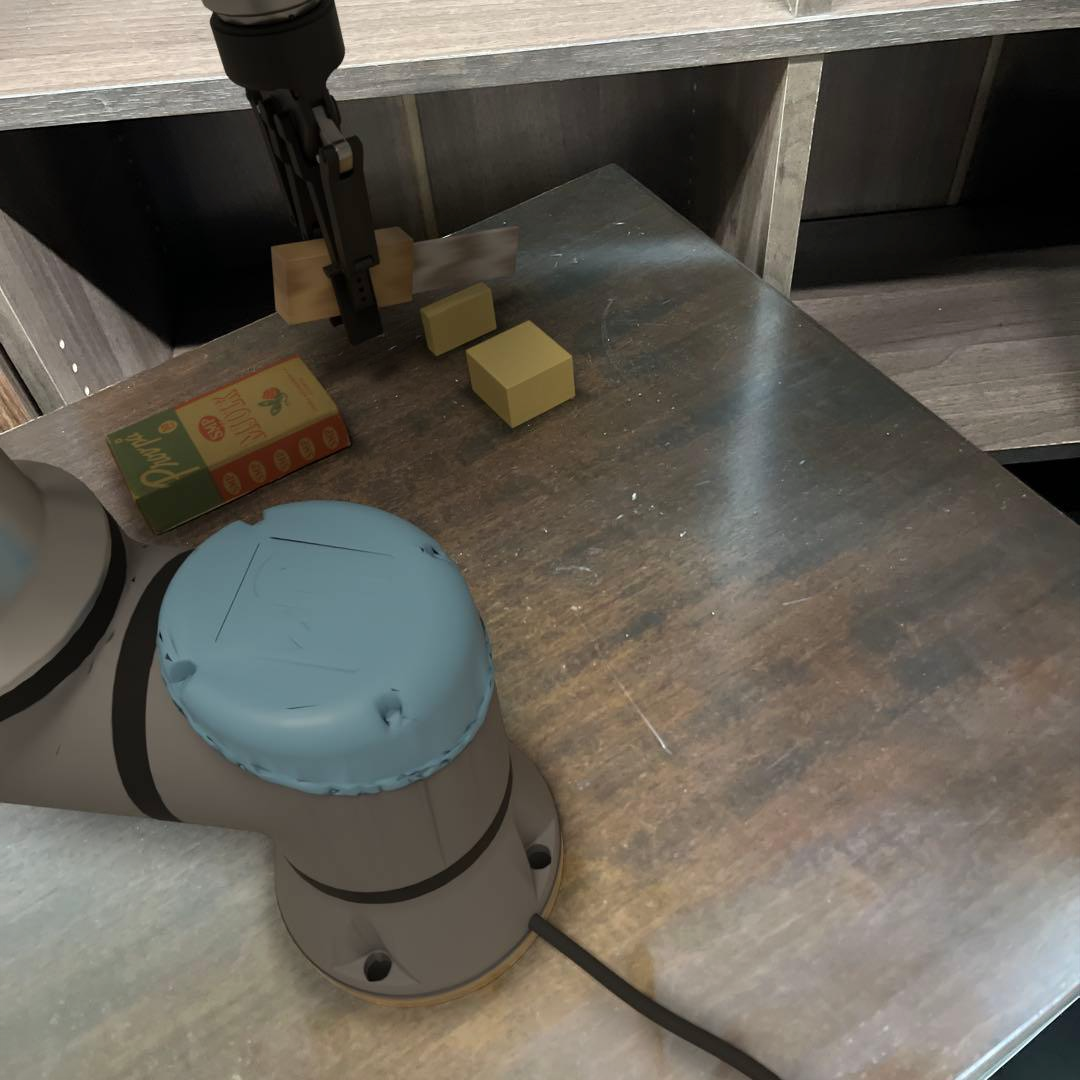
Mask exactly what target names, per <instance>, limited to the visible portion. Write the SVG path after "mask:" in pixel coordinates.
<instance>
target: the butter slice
mask: <svg viewBox="0 0 1080 1080" xmlns="http://www.w3.org/2000/svg"><path fill="white" fill-rule="evenodd" d="M492 293H493V292H492V288H490V287H489V286H488V285H487V284H486V283H484V282H483V281H479V282H478V283H475V284H473V285H471V286H469V287H466V288H464V289H461V290H459V291H457V292H455V293H453V294H451V295H449V296H446V297H444V298H441V299H440V300H437V301H435V302H432V303H430V304H428V305H426V306H423V307H421V308H420V309H419V312H420V315H421V320H422V326H423V331H424V335H425V340H426V344H427V349H428V350H429V351H430V352H431V353H432V354H433V355H434V356H435V357H438V356H440V355H443V354H445V353H447V352H449V351H451V350H453V349H456V348H458V347H460V346H462V345H464V344H467V343H469V342H471V341H473V340H476V339H477V338H480V337H482V336H484V335H486V334H488V333H490V332H492V331H494V330H496V329H497V328H498V327H497V321H496V313H495V307H494V300H493V294H492Z"/></svg>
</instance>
